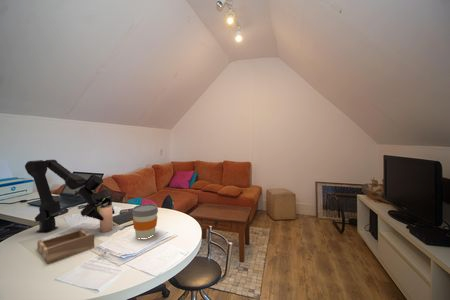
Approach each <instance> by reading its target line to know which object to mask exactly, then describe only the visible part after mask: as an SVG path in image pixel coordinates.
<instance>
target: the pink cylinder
mask: <svg viewBox="0 0 450 300" xmlns="http://www.w3.org/2000/svg"><path fill="white" fill-rule="evenodd" d="M112 207H113V204H112V205H104V206H101V207H99V213H100V215H101V216H102V217H103V219H104V220H102V221H101V220H99V227H100V232H101V233H106V232H109V231H111V230H113V214H112Z"/></svg>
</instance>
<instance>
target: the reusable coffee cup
mask: <svg viewBox="0 0 450 300" xmlns="http://www.w3.org/2000/svg"><path fill="white" fill-rule="evenodd" d="M158 212H159V208H158V205H157V204H155V203H145V204H143V203H142V204H138V205H136V206H134V207H133V208H132V212H131V215H132V224H133V229H134V231H135V232H134V233H135V238H136V237H137V238H140V239H141V238H148V237H150V236H152V235H154V236H155V234H154V233H156V226H157V224H158ZM137 238H136V239H137Z"/></svg>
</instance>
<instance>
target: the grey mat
mask: <svg viewBox="0 0 450 300" xmlns="http://www.w3.org/2000/svg"><path fill="white" fill-rule="evenodd" d="M122 226H123V227H119V228H118V227H115V226H113V230H111V231H109V232H106V233H101V232H100V226H99V227H97V228H96V229H94V230H93V231H91V232H89V233H88V234H89V235H90V234H94V237H95V236H96V237H106V238H107V237H108V238H109V237H111V236H113V235H114V234H116V233H117V232H118V231H122V230H124V229H125V228H126V225H122Z"/></svg>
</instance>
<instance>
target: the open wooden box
mask: <svg viewBox="0 0 450 300" xmlns="http://www.w3.org/2000/svg"><path fill="white" fill-rule="evenodd" d="M36 243H37V251H38V252H39V253H40V255H41V257H42V258H43V259H44V260H45V262H46V263H47V265H50V264H52V263H55V262H58V261H60V260H64V259H66V258H69V257H71V256H74V255H77V254H81V253H83V252H85V251H88V250H91V249H93V248H95V236H94V234H90V235H89V233H87V232H86V231H85V230H83V229H82V228H78V230H75V231H71V232H68V233H65V234H62V235H59V236H55V237H51V238H48V239H44V240H41V239H39V240H37V242H36Z"/></svg>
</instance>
